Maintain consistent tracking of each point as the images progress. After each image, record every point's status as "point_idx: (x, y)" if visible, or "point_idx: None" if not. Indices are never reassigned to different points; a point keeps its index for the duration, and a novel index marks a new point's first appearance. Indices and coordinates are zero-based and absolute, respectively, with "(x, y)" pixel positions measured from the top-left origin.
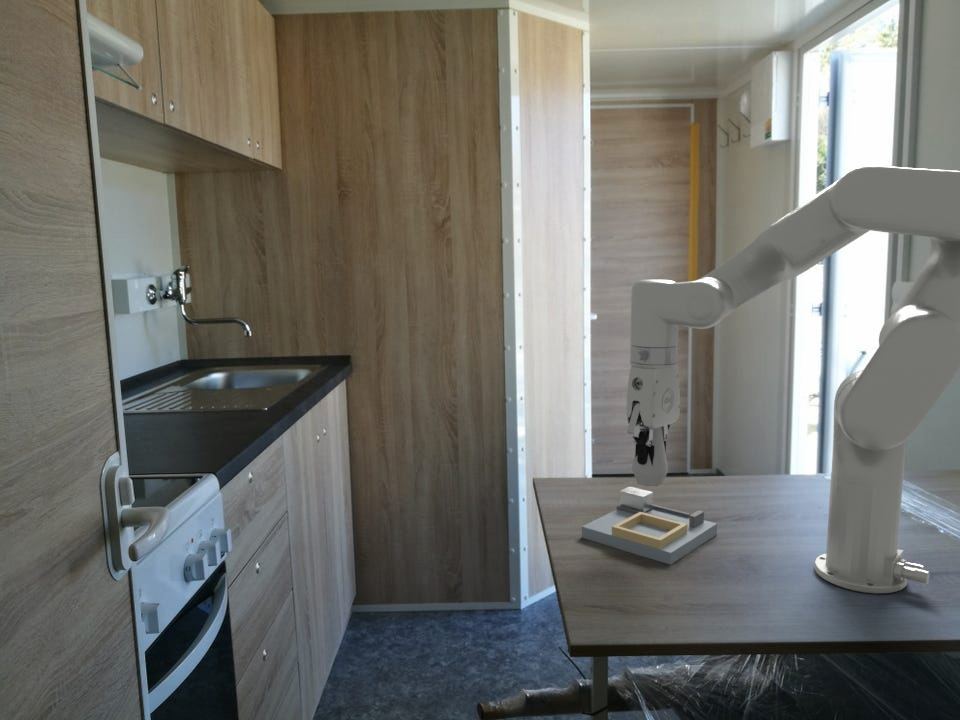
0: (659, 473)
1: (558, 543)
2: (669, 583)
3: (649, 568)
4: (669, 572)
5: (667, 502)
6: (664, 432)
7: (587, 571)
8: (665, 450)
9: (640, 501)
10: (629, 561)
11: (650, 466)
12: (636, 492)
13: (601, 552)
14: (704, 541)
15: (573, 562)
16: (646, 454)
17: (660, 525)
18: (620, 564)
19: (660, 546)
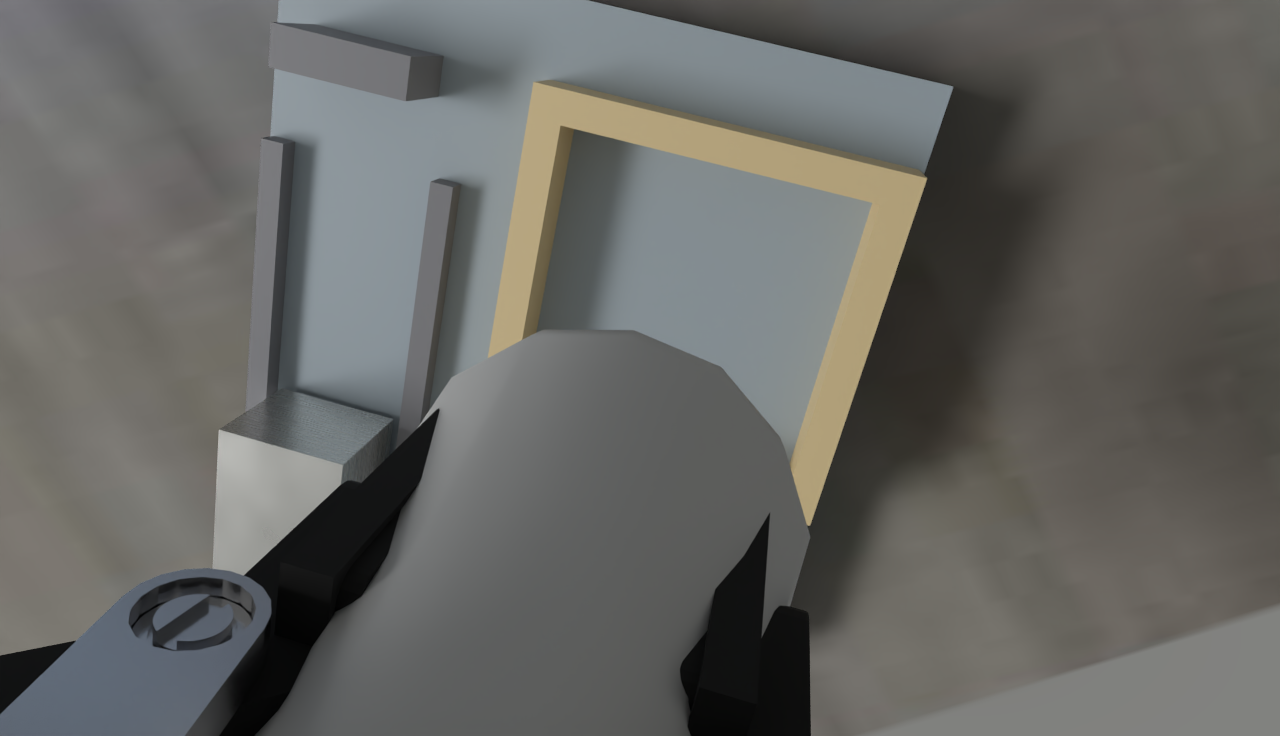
0: (738, 391)
1: (888, 708)
2: (1237, 8)
3: (1042, 188)
4: (1059, 57)
5: (31, 350)
6: (195, 702)
7: (1213, 492)
8: (372, 483)
9: (359, 468)
10: (982, 322)
11: (775, 532)
12: (291, 524)
13: (916, 492)
14: None
15: (1113, 585)
16: (800, 689)
17: (544, 269)
18: (1046, 357)
19: (918, 171)
